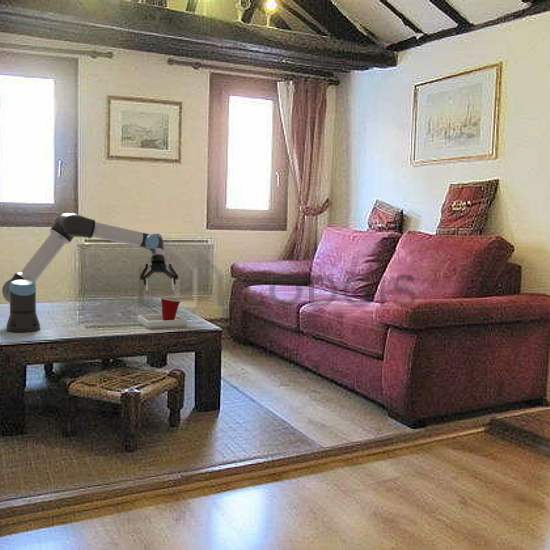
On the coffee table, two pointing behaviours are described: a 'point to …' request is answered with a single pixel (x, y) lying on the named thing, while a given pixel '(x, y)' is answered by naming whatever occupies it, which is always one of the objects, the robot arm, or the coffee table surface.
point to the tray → (161, 321)
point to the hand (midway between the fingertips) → (160, 289)
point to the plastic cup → (169, 307)
